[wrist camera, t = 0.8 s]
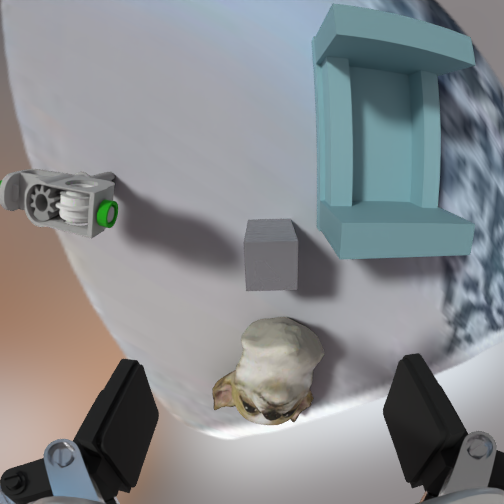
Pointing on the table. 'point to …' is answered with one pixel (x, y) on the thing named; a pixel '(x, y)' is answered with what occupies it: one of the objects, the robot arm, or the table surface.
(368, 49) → the teal open frame
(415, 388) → the robot arm
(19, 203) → the mechanical component
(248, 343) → the ceramic sculpture
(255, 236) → the brushed grey metal block
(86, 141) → the table surface
